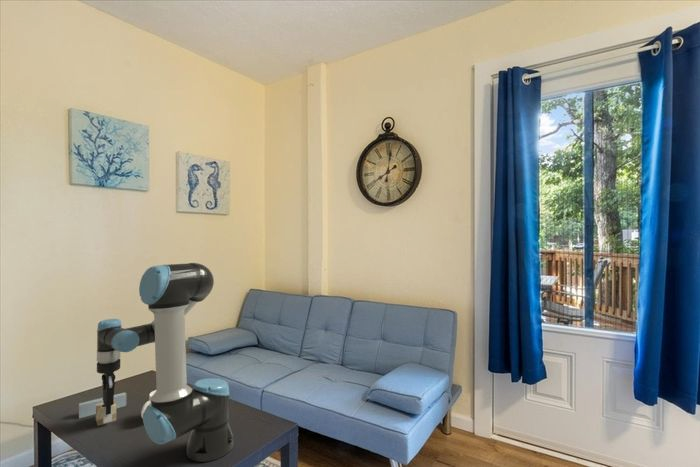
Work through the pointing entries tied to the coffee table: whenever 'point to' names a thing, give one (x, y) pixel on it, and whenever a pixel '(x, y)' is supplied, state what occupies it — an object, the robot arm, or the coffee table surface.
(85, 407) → the board
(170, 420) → the robot arm
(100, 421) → the block
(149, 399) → the mug
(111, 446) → the coffee table surface
